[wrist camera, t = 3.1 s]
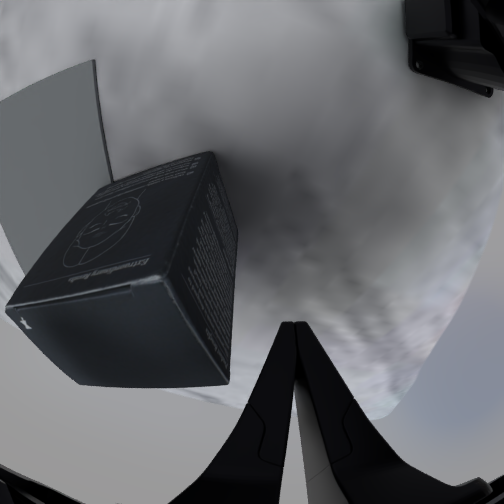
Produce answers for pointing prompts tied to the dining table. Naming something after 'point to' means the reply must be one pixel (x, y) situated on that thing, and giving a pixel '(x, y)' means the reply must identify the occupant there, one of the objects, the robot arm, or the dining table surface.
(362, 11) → the dining table surface
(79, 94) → the mat
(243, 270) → the dining table surface
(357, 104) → the dining table surface
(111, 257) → the box
